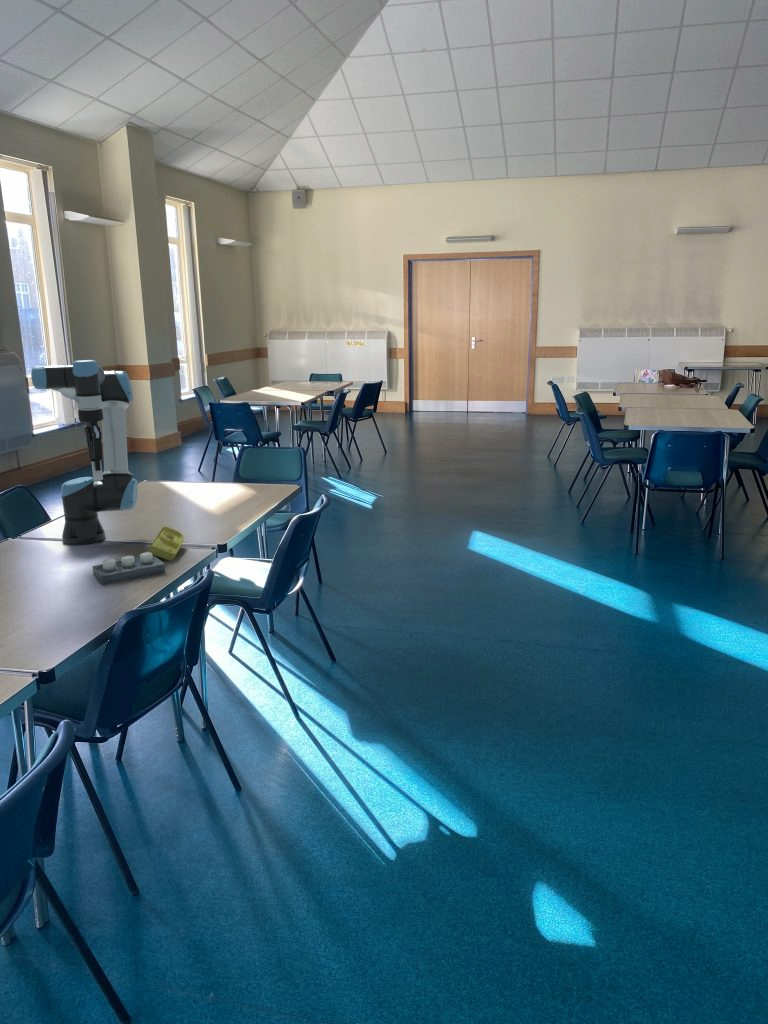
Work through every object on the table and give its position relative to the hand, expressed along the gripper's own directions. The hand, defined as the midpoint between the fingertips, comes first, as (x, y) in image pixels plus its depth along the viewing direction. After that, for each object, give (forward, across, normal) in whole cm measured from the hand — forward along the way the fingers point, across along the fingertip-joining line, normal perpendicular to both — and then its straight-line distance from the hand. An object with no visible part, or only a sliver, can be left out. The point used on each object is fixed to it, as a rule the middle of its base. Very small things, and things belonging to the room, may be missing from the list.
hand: (98, 479), depth 250 cm
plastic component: (+30, 0, +20) cm, 36 cm away
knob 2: (+29, +15, +9) cm, 34 cm away
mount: (+29, +15, +3) cm, 33 cm away
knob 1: (+29, +15, -3) cm, 33 cm away
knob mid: (+29, +15, +3) cm, 33 cm away
